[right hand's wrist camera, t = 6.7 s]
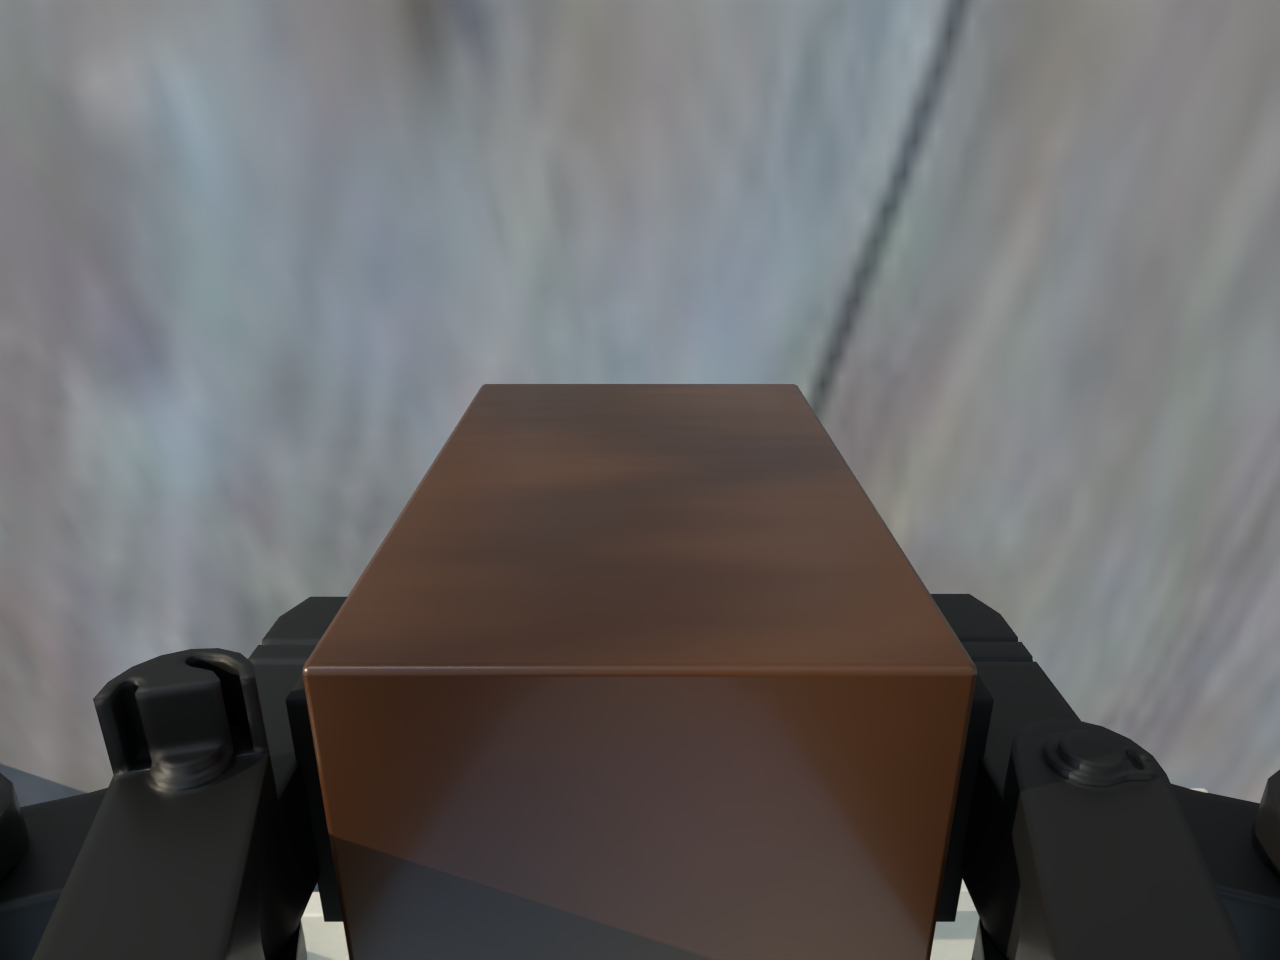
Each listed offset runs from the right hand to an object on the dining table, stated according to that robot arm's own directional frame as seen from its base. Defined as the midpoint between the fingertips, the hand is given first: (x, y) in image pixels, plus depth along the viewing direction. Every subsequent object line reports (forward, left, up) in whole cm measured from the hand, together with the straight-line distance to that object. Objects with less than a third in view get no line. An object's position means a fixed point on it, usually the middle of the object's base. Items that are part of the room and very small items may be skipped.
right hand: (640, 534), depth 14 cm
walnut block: (0, 0, 0) cm, 0 cm away
